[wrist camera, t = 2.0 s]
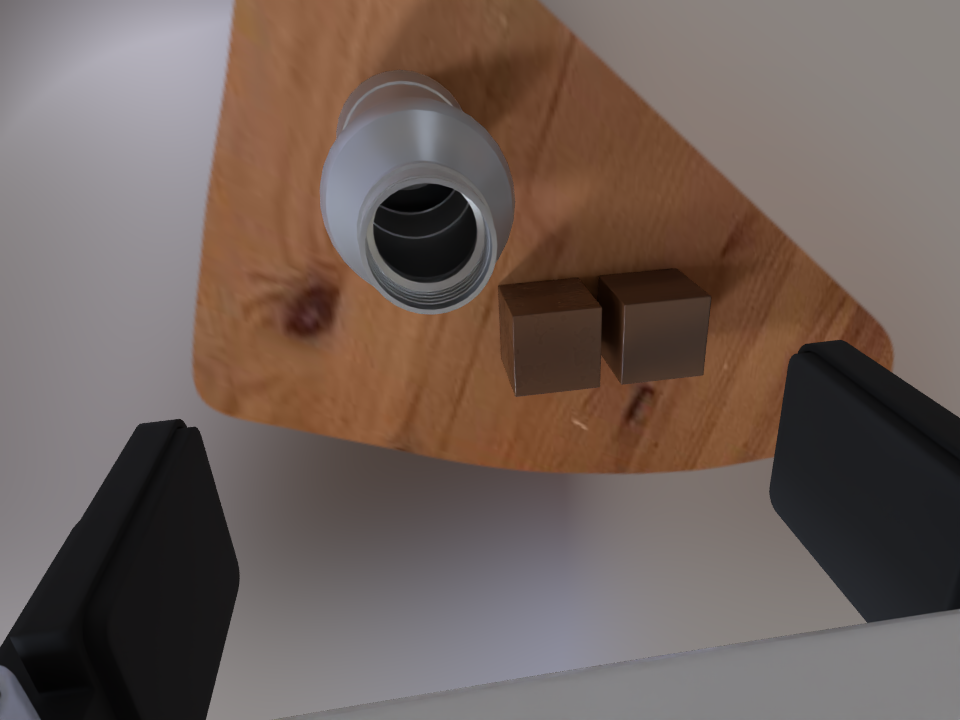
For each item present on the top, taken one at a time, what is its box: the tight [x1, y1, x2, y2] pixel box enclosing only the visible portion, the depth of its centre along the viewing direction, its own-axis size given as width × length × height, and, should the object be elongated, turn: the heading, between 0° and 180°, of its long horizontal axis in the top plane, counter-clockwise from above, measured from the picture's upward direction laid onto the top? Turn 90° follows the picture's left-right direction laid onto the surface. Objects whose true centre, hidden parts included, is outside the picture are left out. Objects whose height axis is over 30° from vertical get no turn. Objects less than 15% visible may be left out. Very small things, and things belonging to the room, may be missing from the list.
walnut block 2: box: [598, 268, 711, 384], centre depth 39 cm, size 5×5×5 cm
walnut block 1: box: [498, 278, 602, 397], centre depth 39 cm, size 5×5×5 cm
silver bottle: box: [320, 70, 515, 314], centre depth 26 cm, size 6×7×20 cm
